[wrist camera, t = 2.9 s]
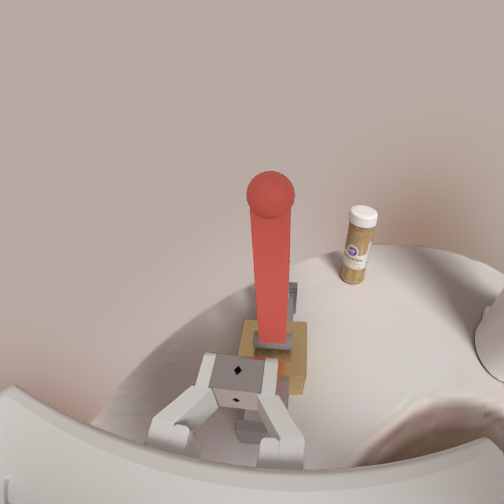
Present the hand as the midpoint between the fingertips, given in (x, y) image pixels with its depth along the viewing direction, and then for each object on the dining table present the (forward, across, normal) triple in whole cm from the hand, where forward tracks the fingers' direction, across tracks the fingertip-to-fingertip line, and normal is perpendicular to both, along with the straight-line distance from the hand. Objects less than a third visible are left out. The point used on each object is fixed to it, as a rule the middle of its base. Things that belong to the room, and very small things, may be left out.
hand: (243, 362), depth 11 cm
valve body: (+13, 0, +22) cm, 26 cm away
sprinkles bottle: (+32, -14, +22) cm, 42 cm away
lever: (+13, 0, +16) cm, 21 cm away
